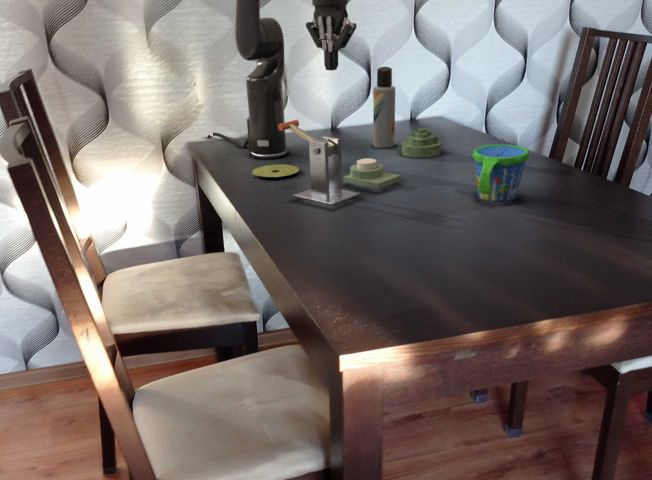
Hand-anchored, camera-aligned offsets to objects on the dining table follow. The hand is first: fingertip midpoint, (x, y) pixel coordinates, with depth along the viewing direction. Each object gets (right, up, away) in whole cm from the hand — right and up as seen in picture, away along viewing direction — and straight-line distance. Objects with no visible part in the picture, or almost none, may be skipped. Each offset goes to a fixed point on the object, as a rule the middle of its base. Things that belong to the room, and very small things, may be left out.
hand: (331, 69), depth 153 cm
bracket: (-1, -29, -3) cm, 29 cm away
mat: (-13, -20, +15) cm, 28 cm away
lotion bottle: (+16, -6, +37) cm, 41 cm away
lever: (-5, -17, -5) cm, 19 cm away
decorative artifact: (+24, -10, +29) cm, 39 cm away
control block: (+9, -24, +5) cm, 26 cm away
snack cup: (+34, -31, -8) cm, 46 cm away
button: (+8, -20, +5) cm, 22 cm away
